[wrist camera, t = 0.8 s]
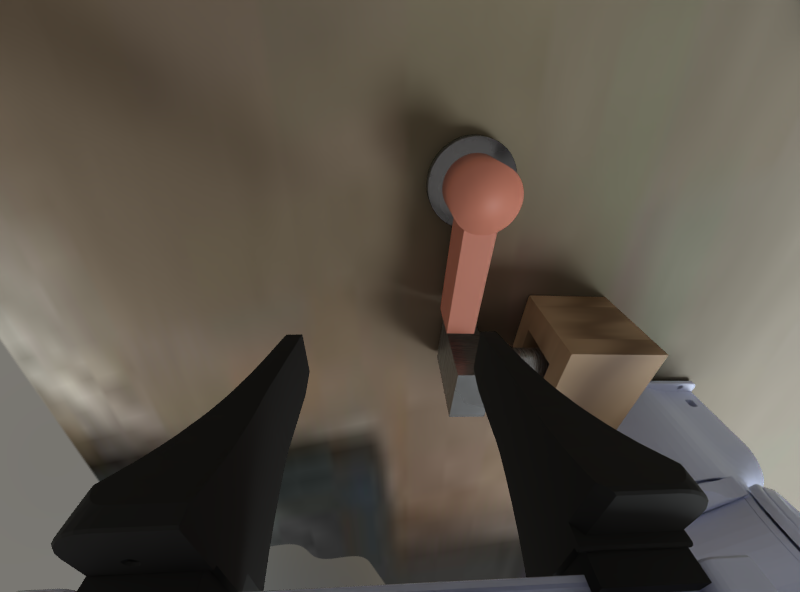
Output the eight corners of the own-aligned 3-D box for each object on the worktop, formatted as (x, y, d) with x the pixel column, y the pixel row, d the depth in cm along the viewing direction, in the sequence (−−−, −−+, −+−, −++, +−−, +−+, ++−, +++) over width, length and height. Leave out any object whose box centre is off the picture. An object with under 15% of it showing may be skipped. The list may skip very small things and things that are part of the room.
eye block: (604, 296, 24) (668, 355, 19) (569, 370, 28) (612, 435, 23) (529, 295, 24) (571, 354, 18) (504, 370, 28) (533, 436, 23)
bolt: (585, 320, 25) (634, 375, 20) (568, 357, 27) (609, 415, 22) (443, 318, 24) (458, 375, 19) (437, 356, 26) (449, 416, 21)
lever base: (522, 136, 18) (527, 138, 17) (501, 225, 21) (505, 229, 20) (431, 132, 17) (433, 133, 17) (422, 222, 20) (424, 226, 20)
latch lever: (510, 154, 17) (532, 164, 15) (476, 308, 23) (487, 334, 20) (446, 151, 17) (457, 160, 14) (427, 307, 23) (433, 334, 20)
